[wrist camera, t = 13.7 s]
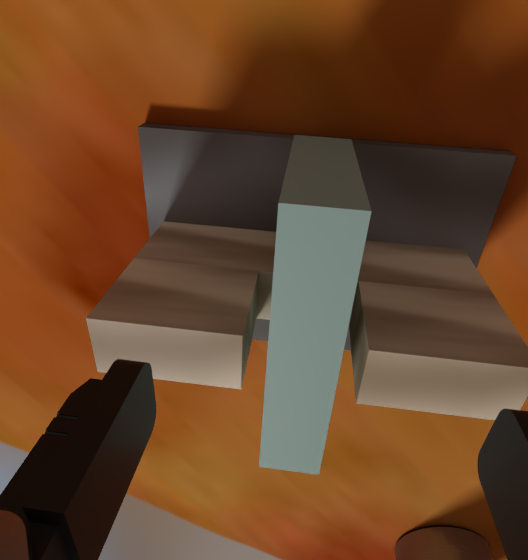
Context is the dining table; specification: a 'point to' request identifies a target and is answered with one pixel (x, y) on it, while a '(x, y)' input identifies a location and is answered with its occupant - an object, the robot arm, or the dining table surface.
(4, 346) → the dining table surface
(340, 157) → the sage crossbar
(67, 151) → the dining table surface
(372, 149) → the stand
